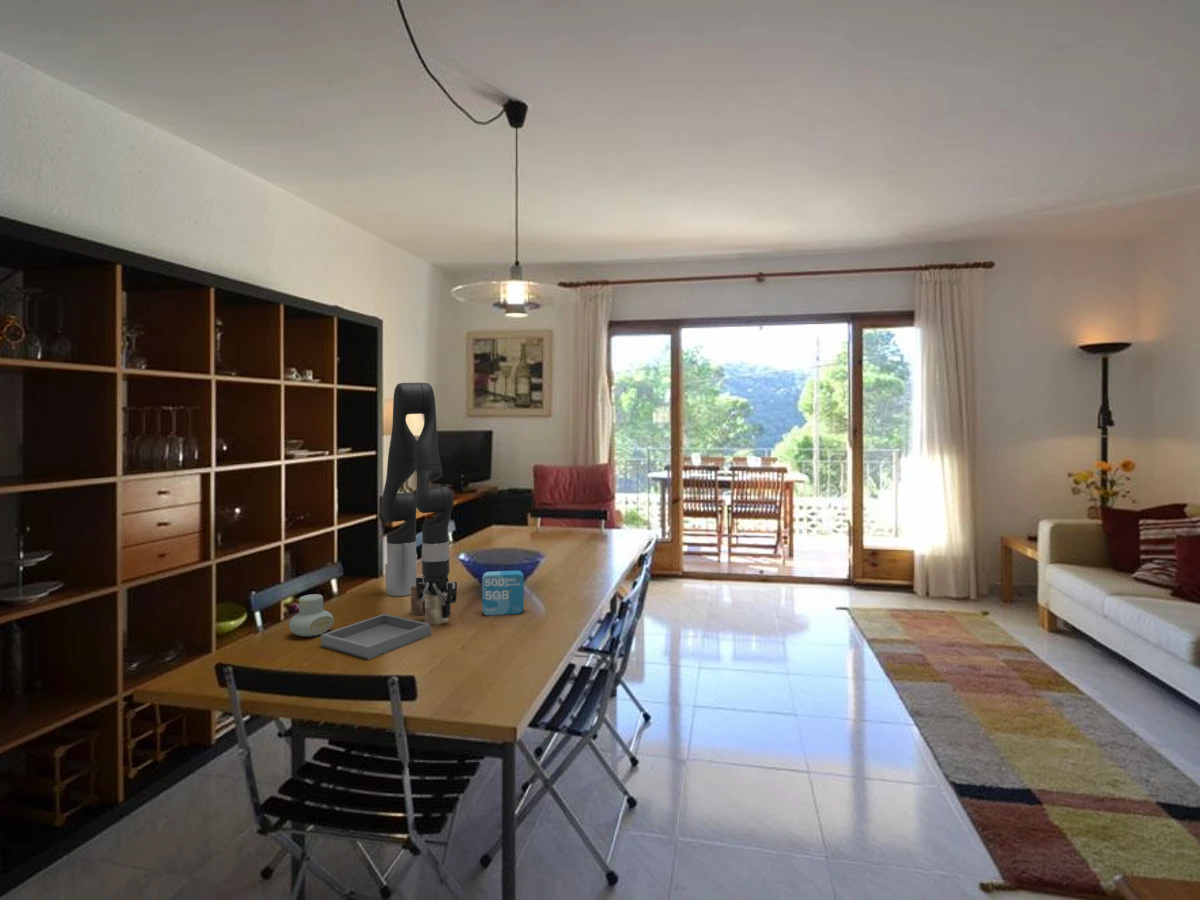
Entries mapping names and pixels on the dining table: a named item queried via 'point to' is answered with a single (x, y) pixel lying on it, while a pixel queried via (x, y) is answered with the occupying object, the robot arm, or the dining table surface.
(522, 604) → the data package
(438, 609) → the block
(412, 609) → the full-size block
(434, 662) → the dining table surface
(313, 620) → the air freshener
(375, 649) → the tray
